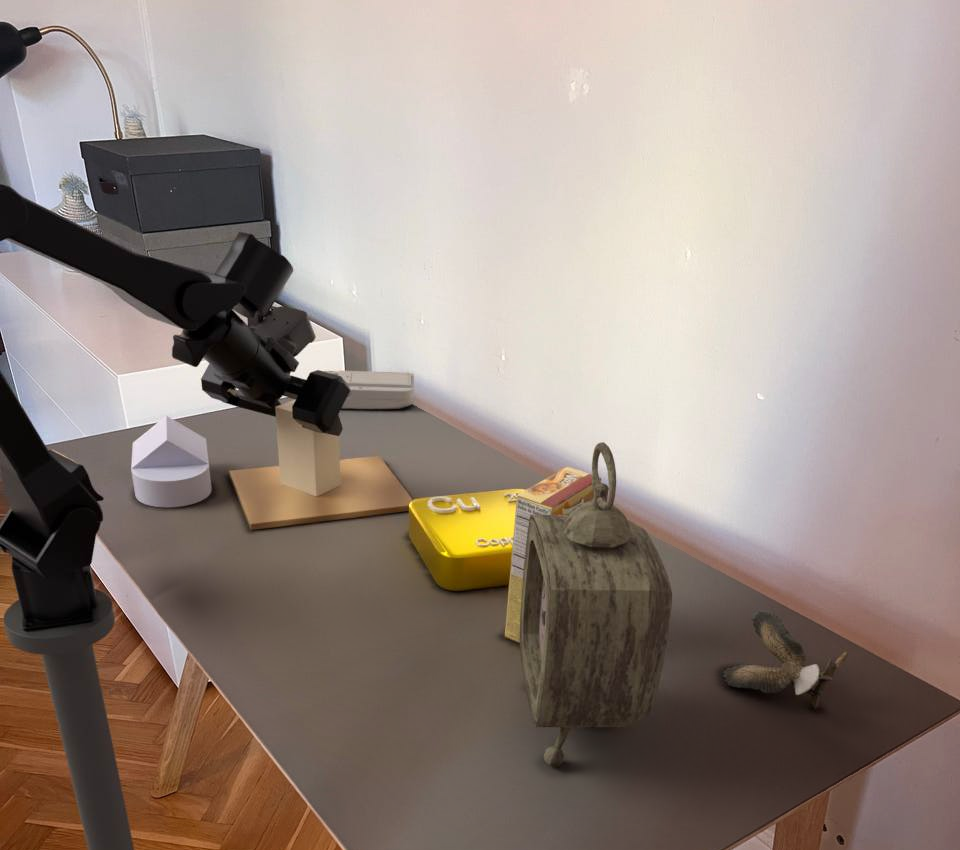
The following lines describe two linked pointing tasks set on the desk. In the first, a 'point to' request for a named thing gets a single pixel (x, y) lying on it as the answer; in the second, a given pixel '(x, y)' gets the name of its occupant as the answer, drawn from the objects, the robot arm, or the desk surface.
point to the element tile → (465, 537)
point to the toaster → (306, 455)
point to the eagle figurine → (791, 660)
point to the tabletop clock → (592, 616)
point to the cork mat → (358, 495)
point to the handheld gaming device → (377, 389)
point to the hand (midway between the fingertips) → (311, 423)
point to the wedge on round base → (170, 466)
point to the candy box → (541, 499)
